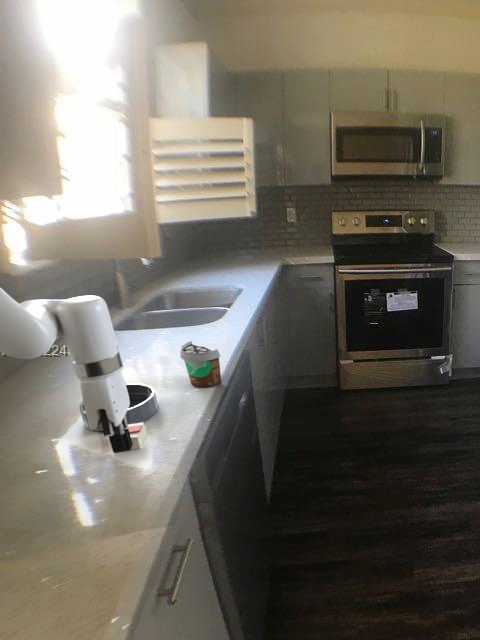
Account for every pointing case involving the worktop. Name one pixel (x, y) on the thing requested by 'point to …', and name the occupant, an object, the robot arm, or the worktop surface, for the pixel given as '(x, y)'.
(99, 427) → the pan
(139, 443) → the block
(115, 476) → the worktop surface
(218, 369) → the food container
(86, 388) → the robot arm
